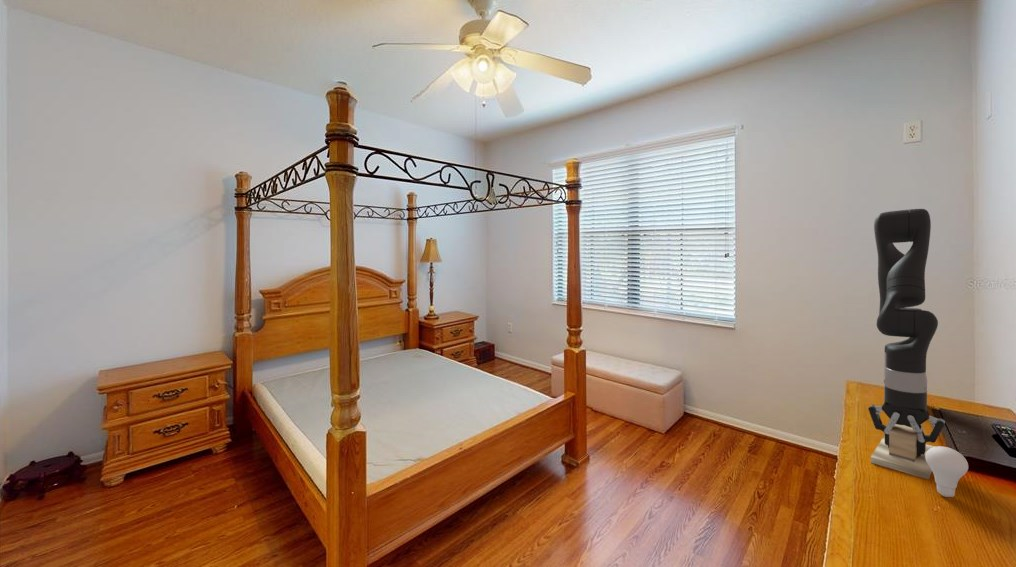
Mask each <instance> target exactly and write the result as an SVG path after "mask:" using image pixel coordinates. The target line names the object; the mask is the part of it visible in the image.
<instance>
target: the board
mask: <svg viewBox="0 0 1016 567" xmlns="http://www.w3.org/2000/svg"><path fill="white" fill-rule="evenodd" d="M932 447H936V446H934V445H930V444H927V443H926V451H925V453H924V455H923V454H921V456H918V455H917V458H916V460H915V462H914V461H910V460H907V459H903V458H899V457H896V456H892V455H889V448H888V445H886V444H885V434H884V436H883V437H882V438H881V440H880V442H879V443H878V444H877V446H876V448H875V449H874V451H873V452H872V454H871V455H870V463H872V464H874V465H878V466H881V467H885V468H887V469H891V470H896V471H898V472H901V473H902V472H903V473H905V474H908V475H912V476H914V477H919V478H922V479H926V480H930V477H931V475H932V473H933V471H932V470H931V468H930V467H929V465H928V463H927V462H926V459H925V455H926V452H927V451H928V450H929V449H930V448H932Z"/></svg>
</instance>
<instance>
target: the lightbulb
mask: <svg viewBox="0 0 1016 567" xmlns="http://www.w3.org/2000/svg"><path fill="white" fill-rule="evenodd" d="M925 459H926V462H927V463H928V465H929V467H930V468H931V470H932V473H933V476H934V482H935V483H936V491H937V493H939V494H940V495H942V496H943V497H945V498H953V497H955V492H956V488H957V487H958V483H959V480H960V479H961V478H962V477H963V476H964V475H965V474H967V473H968V470H969V463H968V461H967V459H966V457H964V455H963V454H962V453H960V452H959V451H957V450H955V449H954V448H950V447H947V446H943V445H941V446H939V445H938V446H935V447H932V448H930V449H929V450H928V451H927V452H926V455H925Z"/></svg>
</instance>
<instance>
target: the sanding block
mask: <svg viewBox="0 0 1016 567" xmlns="http://www.w3.org/2000/svg"><path fill="white" fill-rule="evenodd" d="M917 440H918V439H917V434H915V433H914V431H913V429H912V428H911V427H907V426H905V425H898V424H895V426H894V428H893V429H891V430H890V432H889V455H892V456H896V457H899V458H903V459H907V460H910V461H914V462H915V460H916V458H917Z"/></svg>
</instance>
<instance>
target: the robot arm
mask: <svg viewBox="0 0 1016 567" xmlns="http://www.w3.org/2000/svg"><path fill="white" fill-rule="evenodd" d="M931 224H932V223H931V215H930V213H929V211H928V210H927V209H925V208H911V209H910V208H909V209H901V210H892V211H891V210H889V211H885V212H881V213H878V214H877V215H876V217H875V218H874V222H873V230H874V231H873V232H874V238H875V244H876V251H877V280H878V282H877V284H878V290H879V312H878V316H877V318H876V327H877V329H878V331H879V332H880V334H882V335H884V336H887V337H888V336H889V337H900V338H906V339H904V340H902V341H896V342H895V341H894V342H891V343H890V342H889V343H887V344H885V345H884V370H883V371H884V374H883V375H884V377H883V378H884V379H883V384H884V386H883V389H884V390H883V393H884V394H883V395H884V396H883V401H884V402H883V404H882V405H875V404H871V405H870V406H868V412H869V415H870V417H871V420H872V423H873V425H874V426H873V427H874V428H875V429H876V430H879V431H881V432H883V433H884V435H885V444H886V445H888V448H889V432H890V430H891V429H893V428H894V426H895V424H898V425H905V426H907V427H911V428H912V429H913V431H914V433H915V434H917V439H918V440H917V455H918V456H921V454H923V455H924V453H925V451H926V444H927V443H931V444H932V443H935V442H936V441H937V439H938V437H939V436H940V434H941V432H942V429H943V428H944V426H945V424H946V420H945V419H944V418H937V417H934V416H932V415H930V413H929V411H928V379H927V378H928V376H927V354H928V349H929V347H930V344H931V341H932V339H933V338H934V335H935V334H936V331H937V329H938V327H939V326H938V325H939V322H938V318H937V316H936V315H935V314H934V313H933V312H931V311H929V310H925V309H922V308H915V307H918V306H920V305H923V304H924V302H925V300H926V281H925V280H926V278H925V277H926V276H925V275H926V266H927V261H928V260H927V259H928V254H929V248H930V239H931V238H930V237H931V230H932V229H931V228H932V226H931ZM896 243H897V244H900V243H912V245H911V247H910V248H909V250H907V252H906V253H905V254H904V253H903V252H901V250H899V249H898V248H897V247H896V246H895V245H894V244H896ZM913 307H914V308H913ZM882 411H883V413H885V415H886V416H887V417H888V419H889V421H888V422H887V424H886V425H885V424H883V421H882V418H881V416H880V415H881V414H882ZM927 421H929V422H930V425H931V426H932V427H933V428H932V429H931V432H930V434H925V432H924V431H925V430H924V428H923V426H922V424H923V423H925V422H927Z"/></svg>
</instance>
